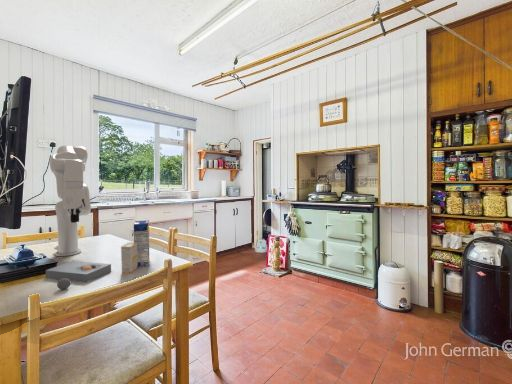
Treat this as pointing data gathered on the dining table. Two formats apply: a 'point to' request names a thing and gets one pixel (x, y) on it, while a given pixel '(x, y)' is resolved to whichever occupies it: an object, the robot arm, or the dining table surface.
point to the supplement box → (129, 257)
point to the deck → (78, 271)
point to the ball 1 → (63, 283)
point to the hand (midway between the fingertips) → (75, 222)
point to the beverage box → (142, 242)
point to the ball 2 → (87, 268)
